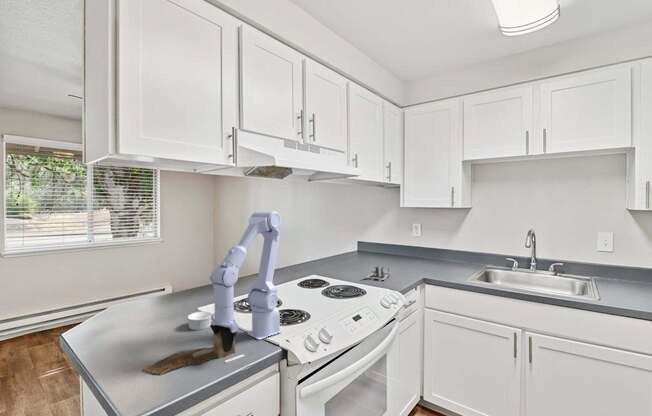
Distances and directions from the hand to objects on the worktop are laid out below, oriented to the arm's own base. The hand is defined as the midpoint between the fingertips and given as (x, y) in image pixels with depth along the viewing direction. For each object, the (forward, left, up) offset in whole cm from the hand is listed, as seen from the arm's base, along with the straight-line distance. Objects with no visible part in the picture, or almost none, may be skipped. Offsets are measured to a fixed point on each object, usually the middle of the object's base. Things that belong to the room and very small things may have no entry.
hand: (224, 348), depth 98 cm
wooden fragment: (+9, -4, -2) cm, 10 cm away
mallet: (+4, 0, -1) cm, 4 cm away
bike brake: (-115, -27, -2) cm, 118 cm away
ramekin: (-4, -27, -2) cm, 27 cm away
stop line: (-1, +6, -1) cm, 6 cm away
